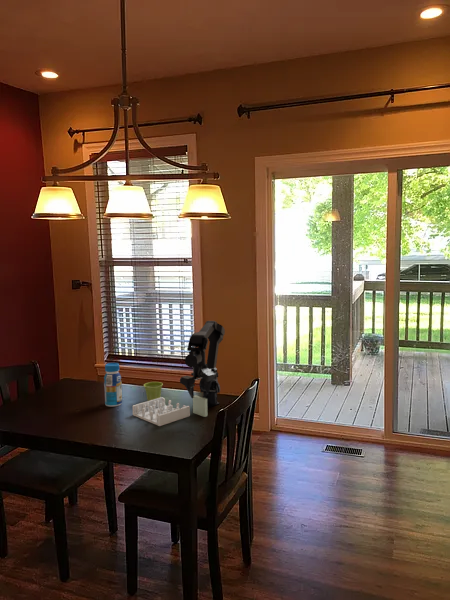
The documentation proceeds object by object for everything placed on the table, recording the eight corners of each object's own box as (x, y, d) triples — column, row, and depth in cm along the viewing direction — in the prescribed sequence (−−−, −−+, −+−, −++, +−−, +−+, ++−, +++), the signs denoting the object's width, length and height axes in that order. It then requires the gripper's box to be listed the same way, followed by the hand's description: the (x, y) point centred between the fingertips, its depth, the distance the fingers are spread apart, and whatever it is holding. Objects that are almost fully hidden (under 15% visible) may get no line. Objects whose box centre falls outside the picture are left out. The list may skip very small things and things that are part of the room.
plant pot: (150, 405, 230) (149, 388, 229) (140, 401, 237) (140, 384, 236) (167, 401, 236) (166, 384, 235) (156, 397, 243) (156, 380, 242)
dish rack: (162, 406, 229) (162, 397, 229) (189, 415, 215) (189, 406, 215) (132, 415, 217) (132, 405, 217) (159, 426, 203) (159, 415, 203)
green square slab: (195, 412, 220) (195, 395, 219) (207, 416, 215) (207, 398, 214) (193, 412, 219) (192, 396, 218) (204, 417, 213) (204, 399, 213)
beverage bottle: (102, 403, 234) (100, 364, 232) (118, 400, 239) (116, 361, 237) (109, 408, 227) (107, 367, 225) (125, 404, 232) (123, 364, 230)
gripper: (195, 369, 202) (196, 404, 204) (226, 361, 215) (227, 394, 217) (178, 364, 210) (179, 399, 212) (209, 357, 223) (210, 389, 225)
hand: (199, 395), depth 216 cm, fingers open, 9 cm apart
